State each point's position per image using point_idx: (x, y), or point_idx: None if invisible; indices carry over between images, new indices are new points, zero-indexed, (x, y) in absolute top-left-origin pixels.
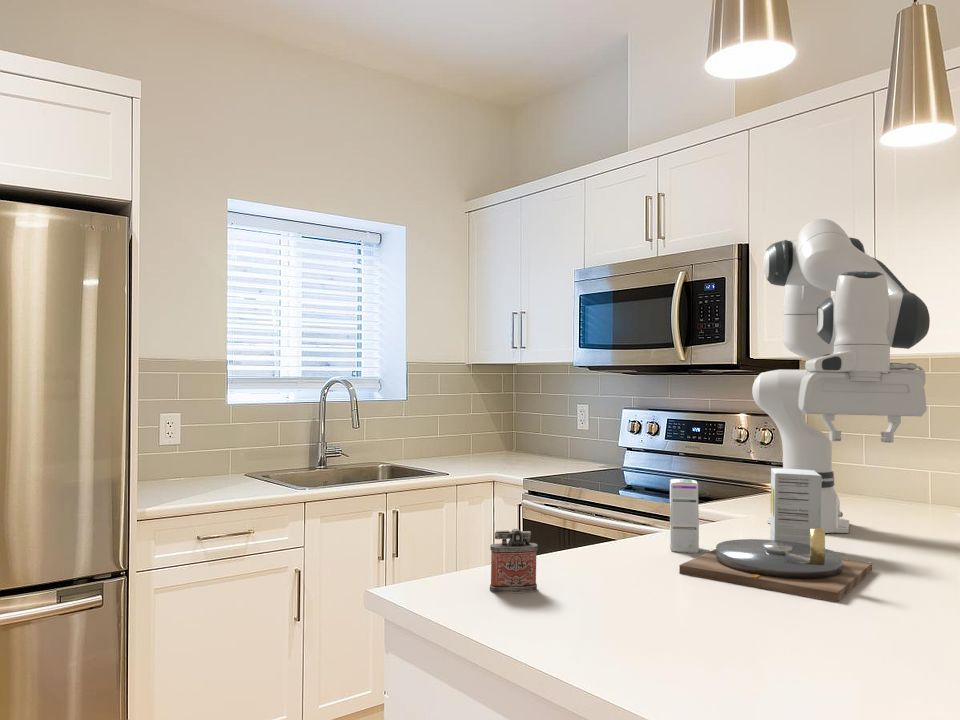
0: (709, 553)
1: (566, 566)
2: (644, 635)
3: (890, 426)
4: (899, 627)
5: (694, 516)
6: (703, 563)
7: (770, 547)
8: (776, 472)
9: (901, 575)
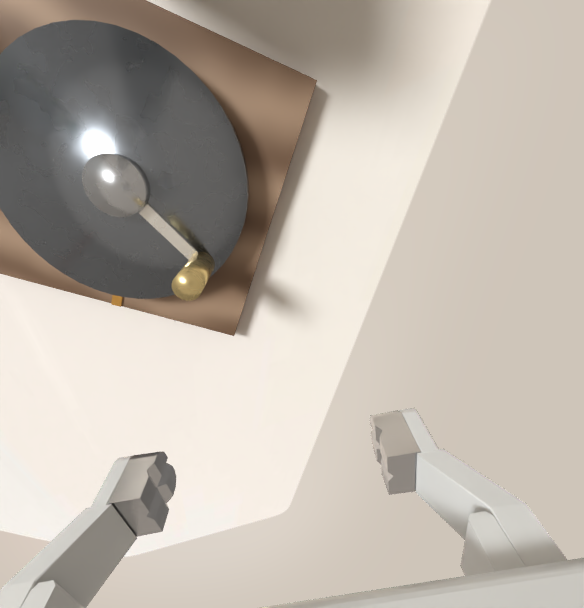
0: None
1: None
2: (78, 480)
3: (451, 501)
4: (290, 390)
5: None
6: (9, 238)
7: (105, 212)
8: None
9: (364, 104)
